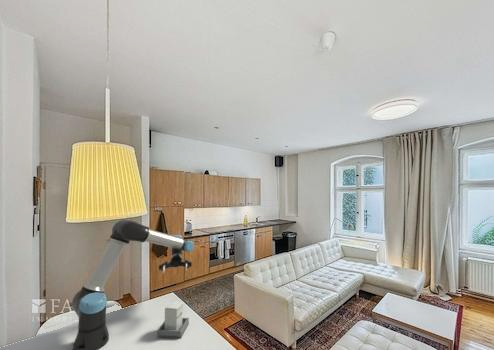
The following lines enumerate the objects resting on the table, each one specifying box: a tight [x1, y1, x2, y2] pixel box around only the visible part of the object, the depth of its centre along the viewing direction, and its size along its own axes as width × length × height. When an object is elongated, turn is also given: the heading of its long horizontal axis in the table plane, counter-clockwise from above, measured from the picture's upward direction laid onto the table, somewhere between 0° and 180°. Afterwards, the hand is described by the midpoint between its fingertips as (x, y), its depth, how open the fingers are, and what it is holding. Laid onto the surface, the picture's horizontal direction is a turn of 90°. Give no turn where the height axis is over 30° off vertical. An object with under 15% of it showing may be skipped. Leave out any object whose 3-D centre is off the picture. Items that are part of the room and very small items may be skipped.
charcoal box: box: [156, 317, 190, 339], centre depth 125 cm, size 13×13×4 cm
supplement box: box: [164, 301, 184, 330], centre depth 125 cm, size 7×7×13 cm
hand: (175, 269), depth 137 cm, fingers open, 13 cm apart
